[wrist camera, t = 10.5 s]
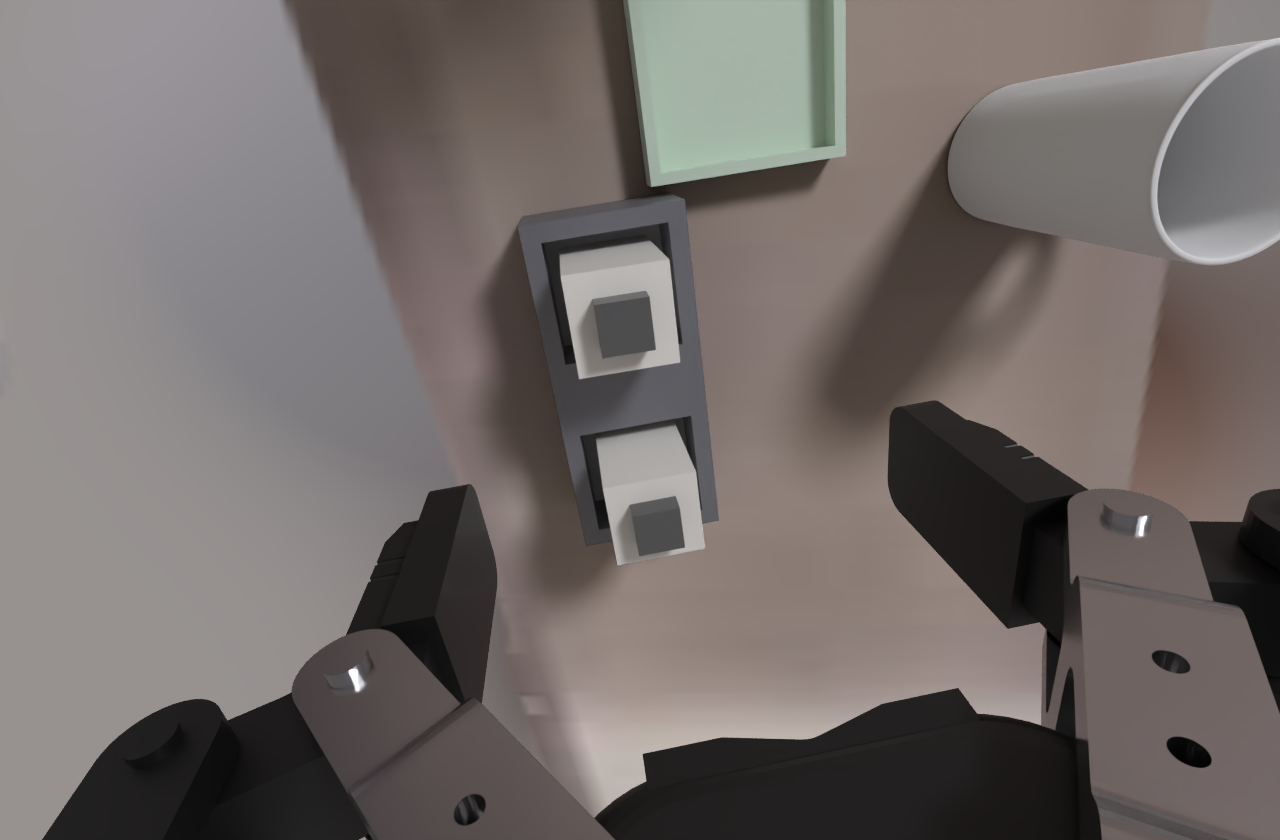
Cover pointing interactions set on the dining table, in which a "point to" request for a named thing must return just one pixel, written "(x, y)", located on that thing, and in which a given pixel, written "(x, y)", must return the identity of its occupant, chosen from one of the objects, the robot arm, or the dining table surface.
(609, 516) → the twin plug
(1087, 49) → the dining table surface
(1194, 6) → the dining table surface
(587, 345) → the plug
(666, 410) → the grey rectangular frame
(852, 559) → the dining table surface
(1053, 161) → the mug
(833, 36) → the tray
